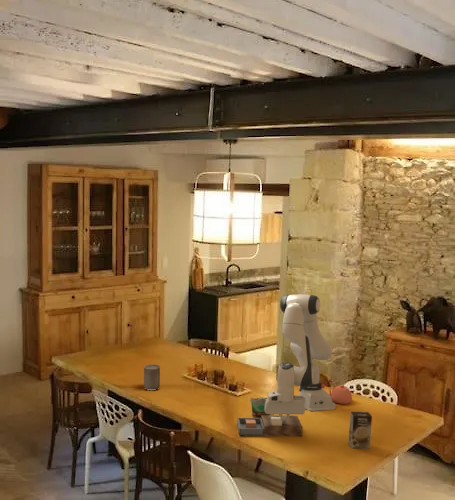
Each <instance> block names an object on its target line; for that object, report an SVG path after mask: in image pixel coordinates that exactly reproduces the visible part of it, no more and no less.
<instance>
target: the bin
mask: <svg viewBox="0 0 455 500" xmlns="http://www.w3.org/2000/svg"><path fill="white" fill-rule="evenodd" d="M236 419H237V421H236V422H237V423H236V427H237V431H238V436H239V435H244V436H243V437H265V436H264V432H265V429H264V425H263V422H262V419H261V418H259V417H237V418H236ZM245 420H255V421H256V428H246V425H245ZM245 435H247V436H245Z"/></svg>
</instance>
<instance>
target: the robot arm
mask: <svg viewBox="0 0 455 500" xmlns="http://www.w3.org/2000/svg"><path fill="white" fill-rule="evenodd" d="M279 306H280V311H281V312H282V313H283V317H282V325H281V326H282V327H281V333H282V335H283V338H284V339H285V340H287V341H288V342H289V343H290V348H289V349H290V351H291V352H292V353H293V354H294V356H295V357H296V360H297V361H298V365H299V366H295V365H294V364H293V363H292V362H289V361H287V362H286V361H285V362H281V363H279V365H278V369H276V383H277V387H276V390H273V391H270V392H268V393H267V397H266V398H267V399H266V402H265V408H264V411H265V413H266V414H269V415H278V416H280V418H281V419H282V423H287V419H288V418H289V417H290V416H291V415H304V414H305V412H306V411H305V410H307V411H310V412H312V411H313V412H317V411H319V412H320V411H331V410H334V411H335V410H336V407H337V406H336V403H335V402H334V401H333V400H332V399H331V396H330V392H328V391H326V390H325V386H326V385H325V384H324V383H323V382H321V381H320V375H321V374H320V372H321V370H320V367H319V366H318V365H317V363H315V361H314V360H316V361H317V360H318V361H328V360H329V359H330V358H331V357H332V355H333V347H332V345H331V343H329V342H328V341H327V340H326V339H325V338H324V336H323V335H322V333H321V331H320V328H319V324H318V323H319V322H318V313H319V312H320V308H321V302H320V298H319V297H318V296H316V295H313V294H304V293H301V294H300V293H299V294H298V293H297V294H284V295H283V296H282V297H281V298H280V303H279ZM313 359H314V360H313ZM294 386H298V395H295V387H294ZM283 415H285V416H286V418H282V416H283Z"/></svg>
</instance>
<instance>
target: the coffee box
mask: <svg viewBox="0 0 455 500" xmlns="http://www.w3.org/2000/svg"><path fill="white" fill-rule="evenodd" d="M372 421H373V416H372V415H371V413H370V412H369V411H350V417H349V431H348V445H349V447H350V448H351V449H370V448H371V437H372V436H371V435H372V423H373V422H372Z"/></svg>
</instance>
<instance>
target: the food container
mask: <svg viewBox="0 0 455 500" xmlns="http://www.w3.org/2000/svg"><path fill="white" fill-rule="evenodd" d="M267 398H268V397H257V398H254V397H252V396H251V397H250V400H249V402H251V403H250V404H251V415H252V416H253V417H254V418H261V415H270V414H266V413H265V411H264V408H265V402H266V399H267Z"/></svg>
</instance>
